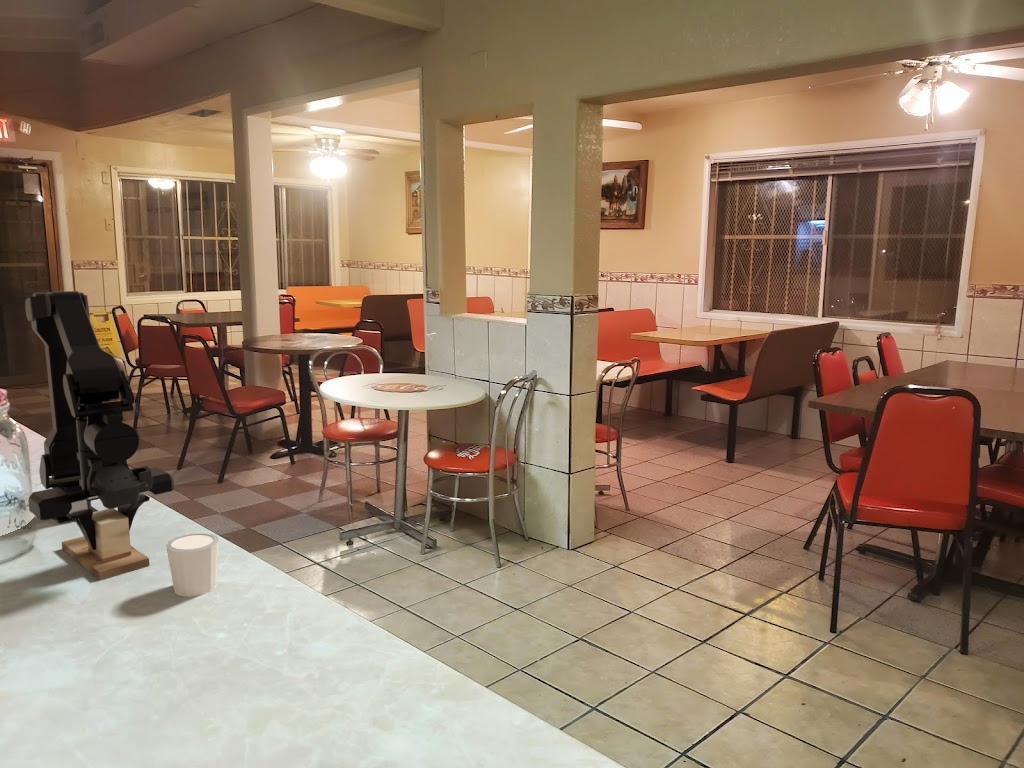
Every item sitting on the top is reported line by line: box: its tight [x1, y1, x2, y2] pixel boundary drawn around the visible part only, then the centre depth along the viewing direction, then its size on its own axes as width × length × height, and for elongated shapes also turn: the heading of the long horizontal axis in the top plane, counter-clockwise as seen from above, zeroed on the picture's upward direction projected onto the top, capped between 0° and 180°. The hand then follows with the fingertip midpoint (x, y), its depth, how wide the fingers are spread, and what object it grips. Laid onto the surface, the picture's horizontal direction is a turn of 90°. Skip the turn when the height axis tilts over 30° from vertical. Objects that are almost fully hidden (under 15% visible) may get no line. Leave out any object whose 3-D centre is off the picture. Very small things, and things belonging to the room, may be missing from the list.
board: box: [61, 535, 150, 581], centre depth 117 cm, size 16×7×1 cm, turn 48°
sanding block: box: [88, 508, 132, 563], centre depth 114 cm, size 6×4×6 cm, turn 48°
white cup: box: [165, 532, 220, 597], centre depth 106 cm, size 7×7×7 cm
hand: (108, 545), depth 115 cm, fingers closed on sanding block, 4 cm apart
